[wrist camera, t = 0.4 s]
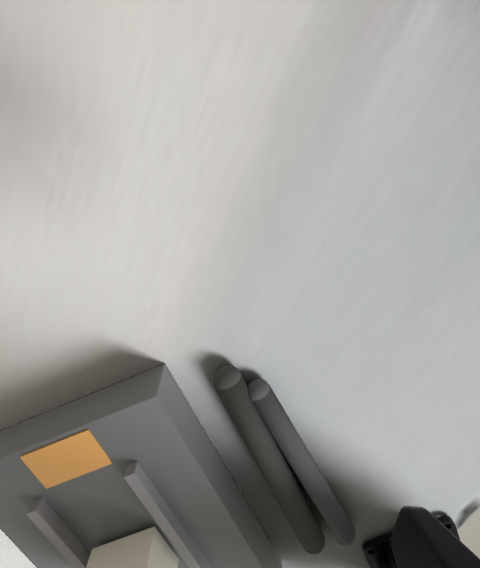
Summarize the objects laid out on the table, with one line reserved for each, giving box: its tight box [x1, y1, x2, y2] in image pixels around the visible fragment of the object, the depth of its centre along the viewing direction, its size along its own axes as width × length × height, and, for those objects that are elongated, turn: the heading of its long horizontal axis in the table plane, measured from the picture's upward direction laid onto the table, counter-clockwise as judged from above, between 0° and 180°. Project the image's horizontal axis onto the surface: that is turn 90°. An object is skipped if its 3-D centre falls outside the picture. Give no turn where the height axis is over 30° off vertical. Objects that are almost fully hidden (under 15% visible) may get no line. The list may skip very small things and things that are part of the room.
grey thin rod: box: [248, 379, 355, 545], centre depth 24 cm, size 14×1×1 cm, turn 28°
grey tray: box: [0, 364, 282, 568], centre depth 24 cm, size 18×12×4 cm, turn 24°
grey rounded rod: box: [213, 365, 325, 554], centre depth 24 cm, size 16×2×2 cm, turn 24°
